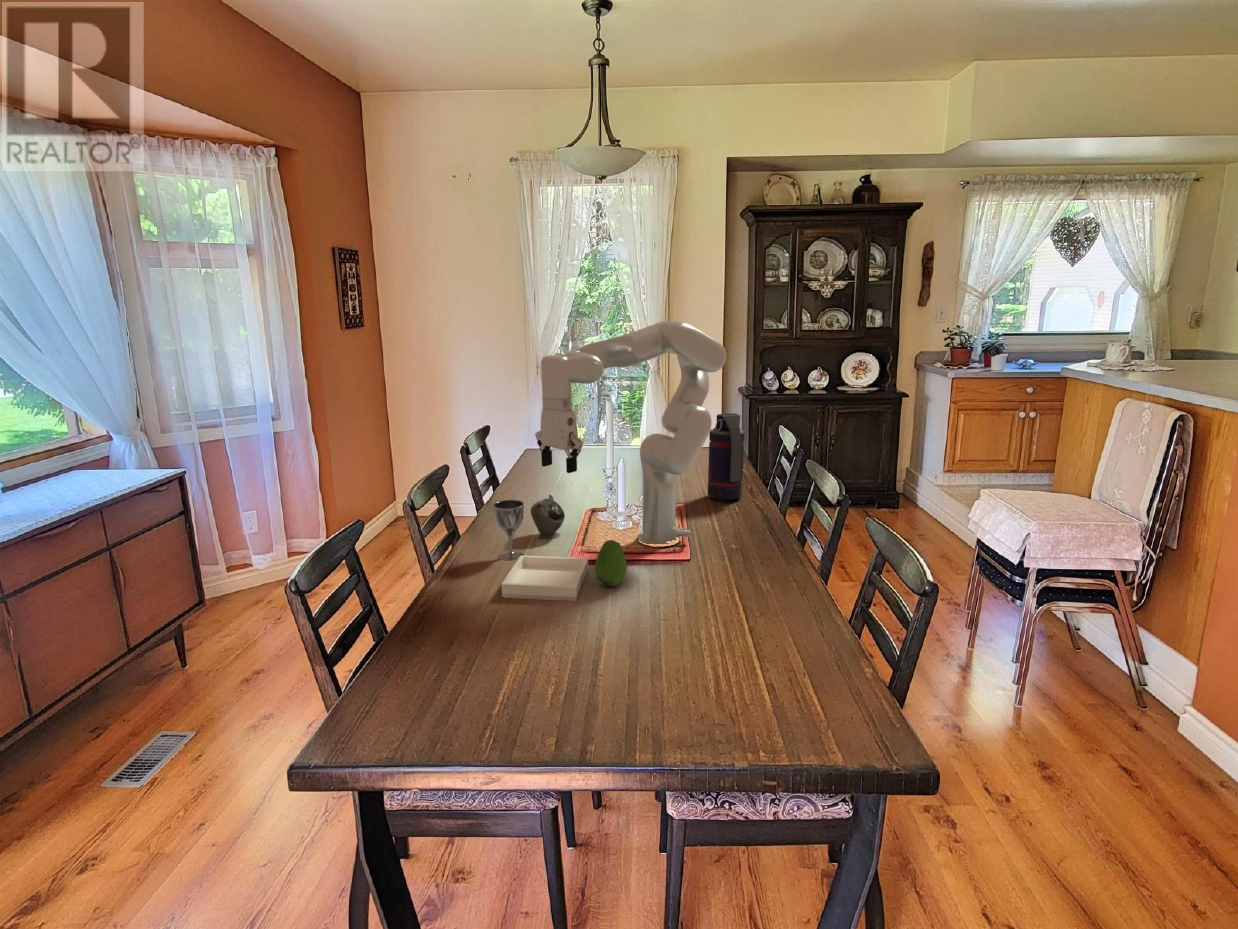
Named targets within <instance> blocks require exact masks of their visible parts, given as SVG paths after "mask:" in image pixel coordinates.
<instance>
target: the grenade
mask: <svg viewBox="0 0 1238 929" xmlns="http://www.w3.org/2000/svg"><path fill="white" fill-rule="evenodd" d="M740 426H741V415H740V414H739V413H719V414H716V423H715V426H714V428H711V430H710V433H709V435H708V438H709V439H708V441H709V442H708V469H707V470H708V471H707V473H708V474H707V476H708V477H707V479H708V480H707V481H708V482H707V495H708V496H709V497H710V498H712V499H715V500H716V502H717V501H721V502H720V503H724V501H725V500H728V501H729V500H737V501H740V500H741V497H742V496H743V476H744V475H743V474H744V454H745V453H744V452H745V443H744V442H745V435H746V434H745V431H744V430H742V429H741V427H740Z"/></svg>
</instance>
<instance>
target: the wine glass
mask: <svg viewBox="0 0 1238 929" xmlns="http://www.w3.org/2000/svg"><path fill="white" fill-rule="evenodd" d="M493 512H494V513H493V514H494V519H495V522H496V524H497V526H498V527H499V528H500V529H501V530H502V531H503V532H504V533H505V534H506V536H507V539H508V545H509V546H508V547H509V550H506V551H505V550H504V551H502V552H500V553H499V554H498V555H499V556H498V555H497V557H498V559H500V558H501V559H500V560H503V561H517V560H518V559H519V557H520V556H521V555H524V556H525V553H524V552H522V551H520V550H516V549H515V550H513V537H514V535H515V533H516V531H517V530H518V529H519V528H520V526H521V524H522V522H523V519H524V514H525V512H524V501H521V500H519V499H518V500H517V499H502V500H499V501H495V503H494V504H493Z"/></svg>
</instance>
